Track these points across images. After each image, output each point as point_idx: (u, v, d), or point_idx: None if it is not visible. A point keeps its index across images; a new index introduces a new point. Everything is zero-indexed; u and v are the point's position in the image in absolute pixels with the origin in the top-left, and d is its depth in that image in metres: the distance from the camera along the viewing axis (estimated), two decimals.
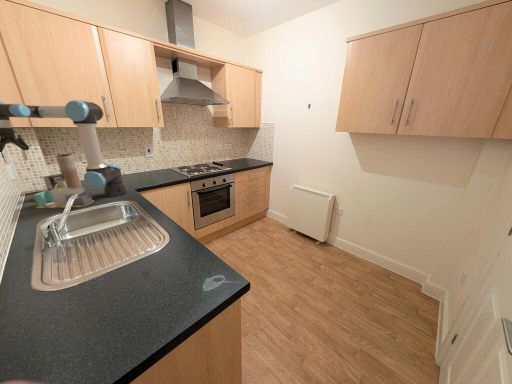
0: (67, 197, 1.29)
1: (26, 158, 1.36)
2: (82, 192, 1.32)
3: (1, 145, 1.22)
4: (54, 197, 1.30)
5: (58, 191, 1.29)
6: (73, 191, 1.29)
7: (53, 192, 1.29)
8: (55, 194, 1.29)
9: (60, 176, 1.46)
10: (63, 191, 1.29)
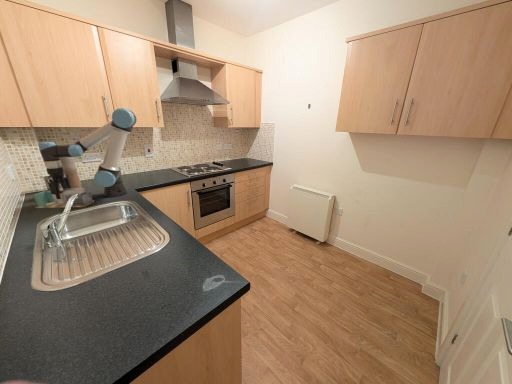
0: (67, 197, 1.29)
1: None
2: (82, 192, 1.32)
3: (56, 186, 1.27)
4: (54, 197, 1.30)
5: None
6: (73, 191, 1.29)
7: None
8: None
9: None
10: (63, 191, 1.29)
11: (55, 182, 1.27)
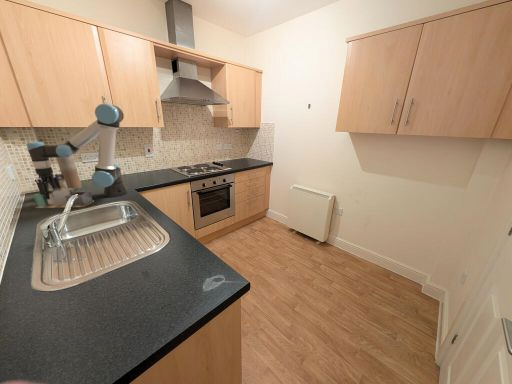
0: (67, 197, 1.29)
1: None
2: (72, 192, 1.31)
3: (45, 186, 1.27)
4: None
5: None
6: (62, 191, 1.29)
7: None
8: None
9: (60, 176, 1.46)
10: (52, 191, 1.29)
11: None
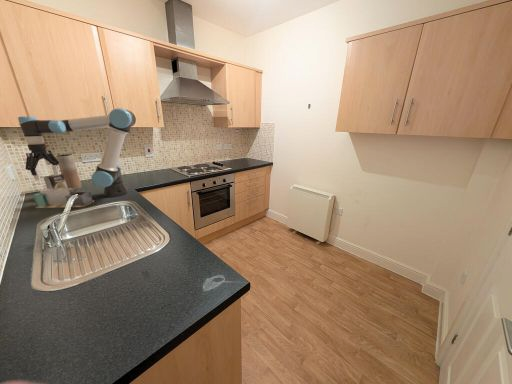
0: (67, 197, 1.29)
1: (56, 173, 1.34)
2: (72, 192, 1.31)
3: (34, 162, 1.20)
4: None
5: (47, 191, 1.28)
6: (62, 191, 1.29)
7: (42, 192, 1.28)
8: (44, 194, 1.29)
9: (60, 176, 1.46)
10: (52, 191, 1.29)
11: (35, 158, 1.21)
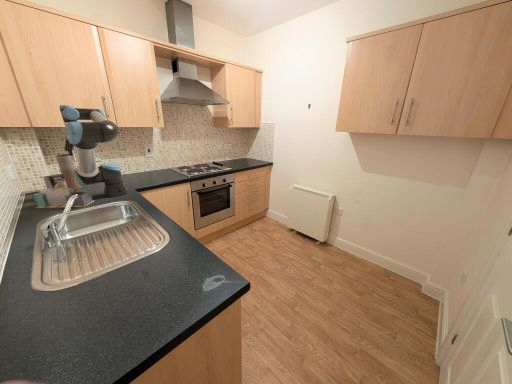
0: (67, 197, 1.29)
1: None
2: (72, 192, 1.31)
3: (71, 144, 1.41)
4: None
5: (47, 191, 1.28)
6: (62, 191, 1.29)
7: (42, 192, 1.28)
8: (44, 194, 1.29)
9: (60, 176, 1.46)
10: (52, 191, 1.29)
11: None
